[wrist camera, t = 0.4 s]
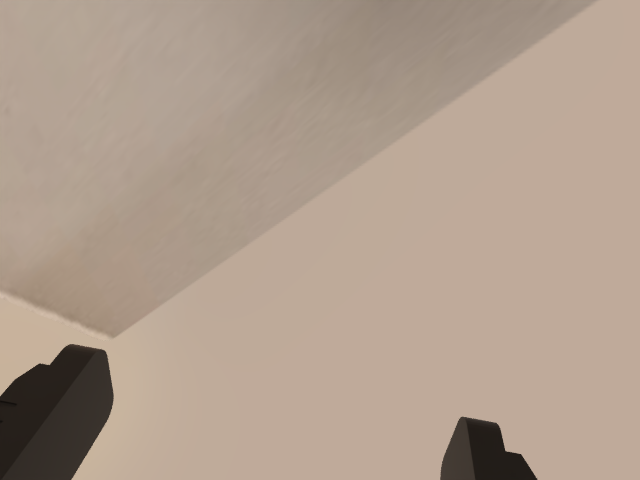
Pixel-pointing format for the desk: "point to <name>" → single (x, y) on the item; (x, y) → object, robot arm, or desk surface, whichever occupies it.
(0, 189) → the desk surface
